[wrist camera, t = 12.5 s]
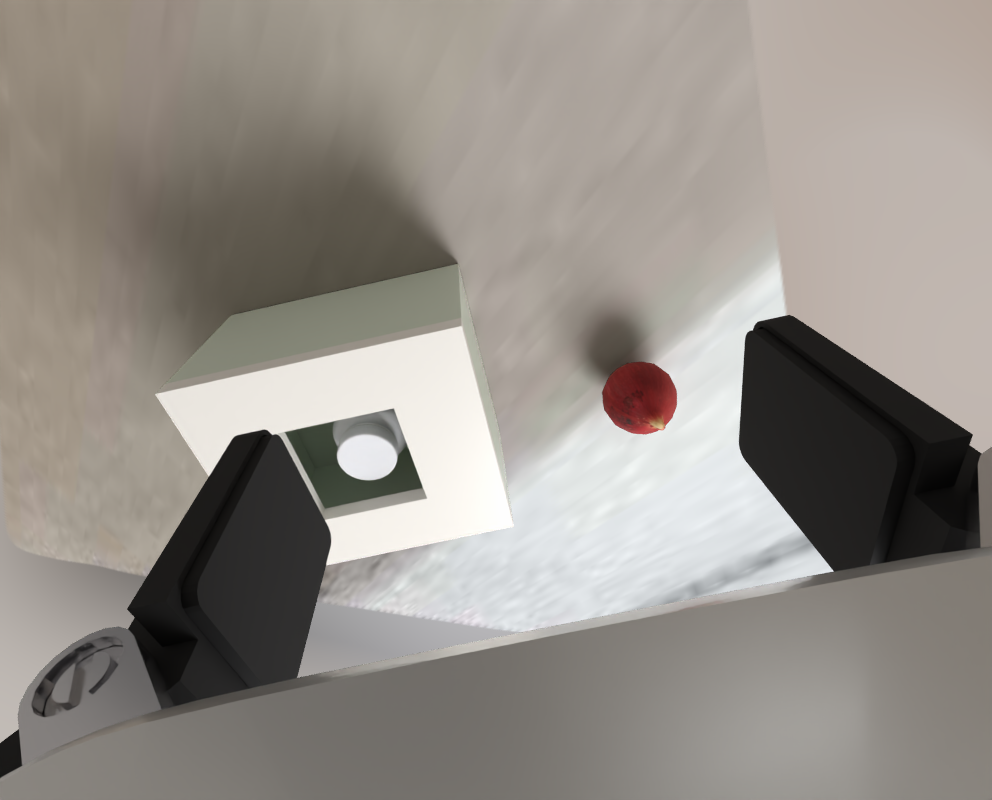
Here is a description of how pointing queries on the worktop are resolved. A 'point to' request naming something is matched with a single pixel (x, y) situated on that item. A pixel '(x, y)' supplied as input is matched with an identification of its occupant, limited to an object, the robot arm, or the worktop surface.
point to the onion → (640, 398)
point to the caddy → (359, 406)
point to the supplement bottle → (369, 444)
